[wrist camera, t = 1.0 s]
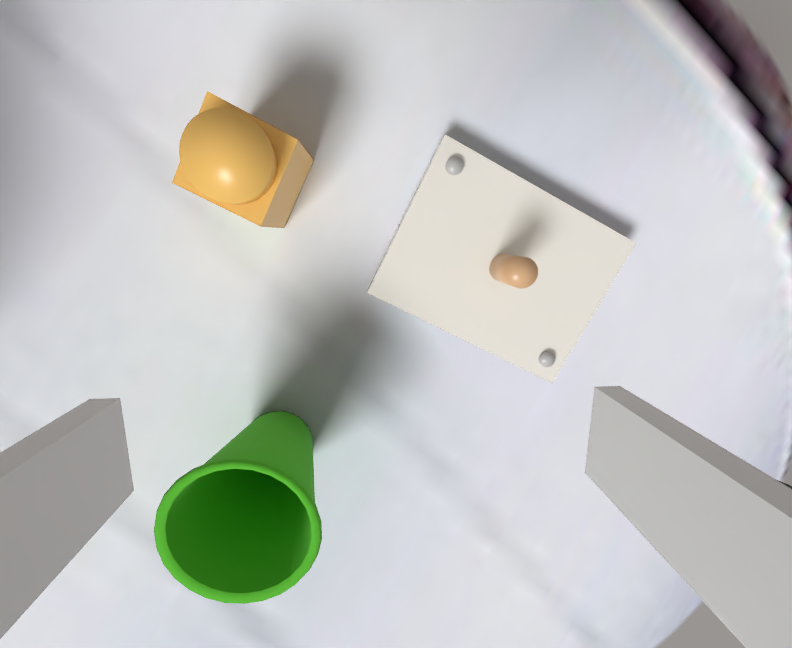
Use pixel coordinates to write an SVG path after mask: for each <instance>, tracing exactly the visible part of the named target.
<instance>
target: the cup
mask: <svg viewBox="0 0 792 648" xmlns="http://www.w3.org/2000/svg"><path fill="white" fill-rule="evenodd" d="M154 533H155V540H156V547H157V550H158V553H159V555H160V557H161V559H162V562H163V564H164V565H165V567H166V568H167V569H168V570H169V572H170V573H171V574H172V575H173V577H174V578H175V579H176V580H178V581H179V582H180V583H181V584H183V585H184V586H185V587H186V588H188V589H189V590H191V591H193V592H195V593H197V594H199V595H201V596H203V597H205V598H208V599H212V600H216V601H220V602H224V603H243V604H245V603H251V602H258V601H264V600H266V599H269V598H272V597H274V596H277V595H280V594H281V593H283V592H285V591H286V590H288V589H289V588H291V587H292V586H294V585H295V584H296V583H297V582H298V581H299V580H300V579H301V578H302V577H303V576H304V575H305V574H306V573H307V572H308V571H309V570H310V568H311V566H312V564H313V562H314V561H315V559H316V557H317V555H318V552H319V548H320V544H321V540H322V531H321V519H320V516H319V513H318V510H317V507H316V504H315V496H314V469H313V442H312V435H311V432H310V430H309V428H308V426H307V425H306V424H305V423H304V422H303V421H302V420H301V419H300V418H299V417H297V416H295V415H294V414H291V413H288V412H280V411H276V412H269V413H266V414H264V415H261V416H260V417H258V418H257V419H256V420H254V421H253V422H252V423H251V424H250V425H249V426H247V427H246V428H245V429H244V430H243V431H242V432H241V433H239V434H238V435H237V436H236V437H235V438H234V439H233V440H231V441H230V442H229V443H228V444H227V445H226V446H224V447H223V448H222V449H221V450H220V451H219V452H218V453H216V454H215V455H214V456H213V457H212V458H211V459H210V460H208V461H207V462H206V463H205V464H204V465H202V466H200V467H197V468H194V469H192V470H191V471H189V472H188V473H186V474H185V475H183V476H182V477H181V478H179V479H178V480H176V482H175V483H174V484H173V485H172V486H171V487H170V488H169V490H168V491H167V492H166V493H165V494H164V496H163V499H162V501H161V503H160V505H159V507H158V509H157V513H156V520H155V527H154Z"/></svg>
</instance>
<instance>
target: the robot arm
mask: <svg viewBox="0 0 792 648" xmlns="http://www.w3.org/2000/svg"><path fill="white" fill-rule="evenodd" d="M585 473H586V474H587V475H588V477H589V478H590V479H591V480H592V481H593V482H594V483H595V484H596V485H597V486H598V487H599V488H600V490H601V491H602V492H603V493H604V494H605V495H606V496H607V497H608V498H609V499H610V500H611V502H612V503H613V504H614V505H615V506H616V507H617V508H618V509H619V510H620V511H621V512H622V514H623V515H624V516H625V517H626V518H627V519H628V520H629V521H630V522H631V523H632V524H633V525H634V527H635V528H636V529H637V530H638V531H639V532H640V533H641V534H642V535H643V536H644V537H645V539H646V540H647V541H648V542H649V543H650V544H651V545H652V546H653V547H654V548H655V549H656V551H657V552H658V553H659V554H660V555H661V556H662V557H663V558H664V559H665V560H666V561H667V562H668V564H669V565H670V566H671V567H672V568H673V569H674V570H675V571H676V572H677V573H678V574H679V576H680V577H681V578H682V579H683V580H684V581H685V582H686V583H687V584H688V585H689V586H690V587H691V589H692V590H693V591H694V592H695V593H696V594H697V595H698V596H699V597H700V598H701V599H702V601H703V602H704V603H705V604H706V605H707V606H708V607H709V608H710V609H711V610H712V611H713V613H715V615H716V616H717V617H718V618H719V619H720V620H721V621H722V622H723V623H724V624H725V626H726V627H727V628H728V629H729V630H730V631H731V632H732V633H733V634H734V635H735V636H736V638H737V639H738V640H739V641H740V642H741V643H742V644H743V645H744V646H745V647H746V648H792V487H791V486H790V485H788V484H785V483H783V482H780V481H778V480H776V479H774V478H772V477H771V476H769V475H767V474H766V473H764V472H762V471H761V470H759V469H757V468H756V467H754V466H752V465H751V464H749V463H747V462H746V461H744V460H742V459H741V458H739V457H737V456H736V455H734V454H732V453H731V452H729V451H727V450H726V449H724V448H722V447H721V446H719V445H717V444H716V443H714V442H712V441H711V440H709V439H707V438H706V437H704V436H702V435H701V434H699V433H697V432H696V431H694V430H692V429H691V428H689V427H687V426H686V425H684V424H682V423H680V422H679V421H677V420H675V419H674V418H672V417H670V416H669V415H667V414H665V413H664V412H662V411H660V410H659V409H657V408H655V407H654V406H652V405H650V404H649V403H647V402H645V401H644V400H642V399H640V398H639V397H637V396H635V395H634V394H632V393H630V392H629V391H627V390H625V389H624V388H622V387H620V386H608V387H594V396H593V405H592V414H591V423H590V432H589V440H588V449H587V458H586V467H585ZM133 491H134V488H133V482H132V475H131V468H130V462H129V455H128V448H127V442H126V435H125V428H124V421H123V415H122V408H121V401H120V398H113V399H89V400H87V401H86V402H84V403H82V404H81V405H79V406H77V407H76V408H74V409H72V410H71V411H69V412H67V413H66V414H64V415H62V416H61V417H59V418H57V419H56V420H54V421H52V422H51V423H49V424H47V425H46V426H44V427H42V428H41V429H39V430H38V431H36V432H34V433H33V434H31V435H29V436H28V437H26V438H24V439H23V440H21V441H19V442H18V443H16V444H14V445H13V446H11V447H9V448H8V449H6V450H4V451H3V452H1V453H0V639H1V638H2V636H3V635H4V634H5V633H6V632H7V631H8V630H9V629H10V628H11V626H12V625H13V624H14V623H15V622H16V621H17V620H18V619H19V618H20V616H21V615H22V614H23V613H24V612H25V611H26V610H27V609H28V608H29V606H30V605H31V604H32V603H33V602H34V601H35V600H36V599H37V598H38V596H39V595H40V594H41V593H42V592H43V591H44V590H45V589H46V588H47V586H48V585H49V584H50V583H51V582H52V581H53V580H54V579H55V578H56V576H57V575H58V574H59V573H60V572H61V571H62V570H63V569H64V568H65V566H66V565H67V564H68V563H69V562H70V561H71V560H72V559H73V558H74V556H75V555H76V554H77V553H78V552H79V551H80V550H81V549H82V548H83V546H84V545H85V544H86V543H87V542H88V541H89V540H90V539H91V538H92V536H93V535H94V534H95V533H96V532H97V531H98V530H99V529H100V528H101V526H102V525H103V524H104V523H105V522H106V521H107V520H108V519H109V518H110V516H111V515H112V514H113V513H114V512H115V511H116V510H117V509H118V508H119V506H120V505H121V504H122V503H123V502H124V501H125V500H126V499H127V498H128V496H129V495H130V494H131V493H132V492H133Z"/></svg>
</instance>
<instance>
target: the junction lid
mask: <svg viewBox="0 0 792 648" xmlns="http://www.w3.org/2000/svg"><path fill="white" fill-rule="evenodd" d="M635 244H636V243H635V242H634V241H632V240H630V239H628V238H626V237H625V236H623V235H621V234H619V233H618V232H616V231H614V230H612V229H611V228H609V227H607V226H605V225H604V224H602V223H600V222H598V221H597V220H595V219H593V218H591V217H590V216H588V215H586V214H584V213H583V212H581V211H579V210H577V209H575V208H574V207H572V206H570V205H568V204H567V203H565V202H563V201H561V200H560V199H558V198H556V197H554V196H553V195H551V194H549V193H547V192H546V191H544V190H542V189H540V188H539V187H537V186H535V185H533V184H531V183H530V182H528V181H526V180H524V179H523V178H521V177H519V176H517V175H516V174H514V173H512V172H510V171H509V170H507V169H505V168H503V167H502V166H500V165H498V164H496V163H495V162H493V161H491V160H489V159H488V158H486V157H484V156H482V155H480V154H479V153H477V152H475V151H473V150H472V149H470V148H468V147H466V146H465V145H463V144H461V143H459V142H458V141H456V140H454V139H452V138H451V137H449V136H447V135H445V136H444V137H443V138H442V139H441V142H440V144H439V146H438V148H437V150H436V152H435V154H434V156H433V158H432V160H431V162H430V164H429V166H428V168H427V170H426V172H425V174H424V176H423V178H422V180H421V182H420V184H419V186H418V188H417V190H416V192H415V195H414V197H413V199H412V201H411V203H410V205H409V207H408V209H407V211H406V213H405V215H404V217H403V219H402V221H401V223H400V225H399V227H398V229H397V231H396V233H395V235H394V237H393V239H392V241H391V243H390V245H389V247H388V250H387V252H386V254H385V256H384V258H383V260H382V262H381V264H380V266H379V268H378V270H377V272H376V274H375V276H374V278H373V280H372V282H371V284H370V286H369V288H368V290H367V293H368V294H370V295H372V296H374V297H376V298H378V299H381V300H383V301H385V302H387V303H389V304H391V305H393V306H395V307H397V308H399V309H401V310H403V311H405V312H407V313H409V314H411V315H413V316H415V317H418V318H420V319H422V320H424V321H426V322H428V323H430V324H432V325H434V326H436V327H438V328H440V329H442V330H444V331H446V332H448V333H450V334H452V335H454V336H457V337H459V338H461V339H463V340H465V341H467V342H469V343H471V344H473V345H475V346H477V347H479V348H481V349H483V350H485V351H487V352H489V353H491V354H493V355H496V356H498V357H500V358H502V359H504V360H506V361H508V362H510V363H512V364H514V365H516V366H518V367H520V368H522V369H524V370H526V371H528V372H530V373H533V374H535V375H537V376H539V377H541V378H543V379H545V380H547V381H549V382H551V383H553V382H554V380H555V378H556V377H557V375H558V373H559V371H560V370H561V368H562V366H563V365H564V363H565V361H566V360H567V358H568V356H569V355H570V353H571V351H572V350H573V348H574V346H575V345H576V343H577V341H578V340H579V338H580V336H581V335H582V333H583V331H584V330H585V328H586V326H587V325H588V323H589V321H590V320H591V318H592V316H593V315H594V313H595V311H596V309H597V308H598V306H599V304H600V303H601V301H602V299H603V298H604V296H605V294H606V293H607V291H608V289H609V288H610V286H611V284H612V283H613V281H614V279H615V278H616V276H617V274H618V273H619V271H620V269H621V268H622V266H623V264H624V263H625V261H626V259H627V258H628V256H629V254H630V253H631V251H632V249H633V248H634V246H635Z"/></svg>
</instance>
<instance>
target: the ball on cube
mask: <svg viewBox="0 0 792 648" xmlns="http://www.w3.org/2000/svg"><path fill="white" fill-rule="evenodd" d="M179 153H180V163H179V166H178V168H177V171H176V174H175V176H174V179H173V181H172V183H174V184H176V185H178V186H180V187H182V188H184V189H186V190H188V191H190V192H192V193H194V194H196V195H198V196H200V197H202V198H204V199H206V200H208V201H210V202H212V203H214V204H216V205H218V206H220V207H222V208H224V209H226V210H228V211H230V212H232V213H234V214H237V215H239V216H241V217H243V218H245V219H247V220H249V221H251V222H253V223H255V224H257V225H259V226H262V227H275V228H284V227H285V224H286V222H287V220H288V218H289V215H290V213H291V211H292V209H293V206H294V204H295V202H296V200H297V197H298V195H299V193H300V190H301V188H302V186H303V184H304V181H305V179H306V177H307V175H308V172H309V170H310V168H311V166H312V163H313V161H314V160H313V159H312V158H311V156H310V155H309V154H308V152H307V151H306V150H305V148H304V147H303V146H302V144H301V143H300V142H299V140H298V139H296V138H294V137H292V136H290V135H288V134H286V133H285V132H283V131H281V130H279V129H277V128H275V127H273V126H271V125H270V124H268V123H266V122H264V121H262V120H260V119H258V118H256V117H255V116H253V115H251V114H249V113H247V112H245V111H243V110H241V109H240V108H238V107H236V106H234V105H232V104H230V103H228V102H226V101H225V100H223V99H221V98H219V97H217V96H215V95H213V94H211V93H210V92H208V91H207V93H206V96H205V99H204V101H203V104H202V106H201V109H200V111H199V114H198V115H196V116H195V117H194V118H193V119H192V120H191V121H190V122H189V123H188V125H187V126H186V128H185V129H184V132H183V134H182V137H181V140H180V149H179Z"/></svg>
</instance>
